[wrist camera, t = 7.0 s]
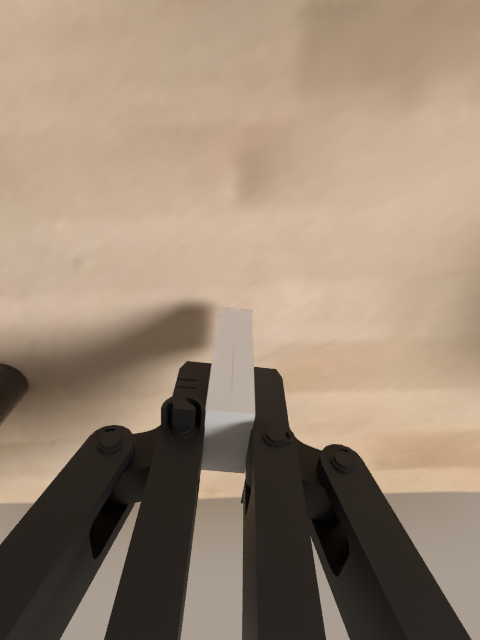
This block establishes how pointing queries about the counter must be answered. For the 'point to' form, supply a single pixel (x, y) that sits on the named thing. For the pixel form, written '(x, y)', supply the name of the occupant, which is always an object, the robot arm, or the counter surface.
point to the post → (10, 389)
